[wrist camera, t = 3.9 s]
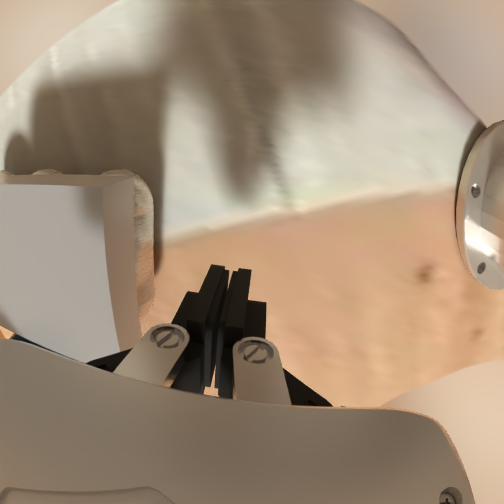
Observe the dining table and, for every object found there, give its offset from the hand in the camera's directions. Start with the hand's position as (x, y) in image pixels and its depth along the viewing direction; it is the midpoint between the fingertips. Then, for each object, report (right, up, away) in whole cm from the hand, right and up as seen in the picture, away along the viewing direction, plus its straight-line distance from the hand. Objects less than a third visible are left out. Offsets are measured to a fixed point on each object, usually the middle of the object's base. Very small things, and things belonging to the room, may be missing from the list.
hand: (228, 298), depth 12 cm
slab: (-10, +2, +1) cm, 10 cm away
